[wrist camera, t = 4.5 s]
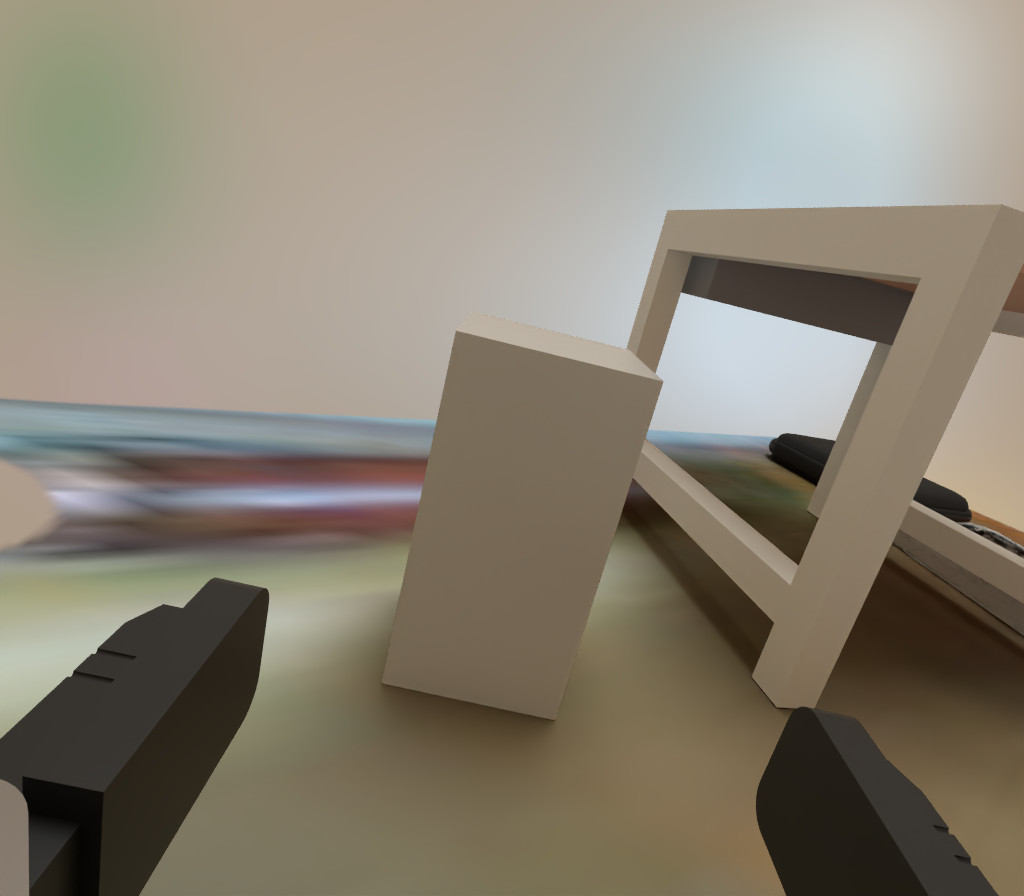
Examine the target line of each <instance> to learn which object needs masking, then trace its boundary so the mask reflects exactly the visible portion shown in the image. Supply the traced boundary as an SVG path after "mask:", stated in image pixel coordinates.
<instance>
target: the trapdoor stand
mask: <svg viewBox="0 0 1024 896" xmlns="http://www.w3.org/2000/svg"><path fill="white" fill-rule="evenodd" d="M692 256H700V257H708V258H716V259H724V260H732V261H739V262H747V263H755V264H763V265H771V266H779V267H787V268H795V269H803V270H810V271H818V272H826V273H834V274H842V275H850V276H858V277H866V278H874V279H881V280H889V281H897V282H905V283H913V284H918V286H917V289H916V291H915V293H914V296H913V298H912V300H911V303H910V305H909V307H908V310H907V312H906V314H905V317H904V319H903V322H902V324H901V326H900V329H899V331H898V333H897V336H896V338H895V340H894V343H893V345H892V346H891V345H887V344H883V343H879V342H877V343H876V345H875V348H874V350H873V353H872V355H871V358H870V360H869V362H868V365H867V367H866V369H865V372H864V374H863V377H862V379H861V381H860V384H859V386H858V389H857V391H856V393H855V396H854V398H853V401H852V403H851V406H850V408H849V410H848V413H847V415H846V417H845V420H844V422H843V425H842V427H841V430H840V432H839V434H838V437H837V439H836V441H835V444H834V446H833V449H832V451H831V453H830V456H829V458H828V461H827V463H826V465H825V468H824V470H823V473H822V475H821V477H820V480H819V482H818V485H817V487H816V489H815V492H814V494H813V497H812V499H811V501H810V504H809V506H808V509H807V511H809V512H810V513H811V514H813V515H814V516H816V517H817V518H819V519H818V522H817V524H816V526H815V529H814V531H813V533H812V536H811V538H810V540H809V543H808V545H807V547H806V550H805V552H804V555H803V557H802V559H801V562H800V564H799V566H798V565H797V564H796V563H794V562H793V561H792V560H791V559H790V558H788V557H787V556H786V555H785V554H784V553H782V552H781V551H780V550H779V549H778V548H776V547H775V546H774V545H773V544H772V543H770V542H769V541H768V540H767V539H766V538H764V537H763V536H762V535H761V534H760V533H758V532H757V531H756V530H755V529H754V528H752V527H751V526H750V525H749V524H748V523H746V522H745V521H744V520H743V519H742V518H740V517H739V516H738V515H737V514H736V513H734V512H733V511H732V510H731V509H730V508H728V507H727V506H726V505H725V504H724V503H722V502H721V501H720V500H719V499H718V498H716V497H715V496H714V495H713V494H712V493H710V492H709V491H708V490H707V489H706V488H704V487H703V486H702V485H701V484H700V483H698V482H697V481H696V480H695V479H694V478H692V477H691V476H690V475H689V474H688V473H686V472H685V471H684V470H683V469H682V468H680V467H679V466H678V465H677V464H676V463H674V462H673V461H672V460H671V459H670V458H668V457H667V456H666V455H665V454H664V453H662V452H661V451H660V450H659V449H658V448H656V447H655V446H654V445H653V444H652V443H650V442H649V441H648V440H647V439H646V438H645V441H644V444H643V447H642V450H641V453H640V456H639V460H638V463H637V466H636V469H635V472H634V475H633V478H634V479H635V480H636V481H637V482H638V483H639V484H640V485H641V486H642V487H643V488H644V490H645V491H646V492H647V493H648V494H649V495H650V496H651V497H652V498H653V499H654V500H655V501H656V502H657V503H658V504H659V505H660V506H661V507H662V508H663V509H664V510H665V511H666V512H667V513H668V514H669V515H670V516H671V517H672V518H673V519H674V520H675V521H676V522H677V523H678V524H679V525H680V526H681V528H682V529H683V530H684V531H685V532H686V533H687V534H688V535H689V536H690V537H691V538H692V539H693V540H694V541H695V542H696V543H697V544H698V545H699V546H700V547H701V548H702V549H703V550H704V551H705V552H706V553H707V554H708V555H709V556H710V557H711V558H712V559H713V560H714V561H715V562H716V563H717V564H718V565H719V567H720V568H721V569H722V570H723V571H724V572H725V573H726V574H727V575H728V576H729V577H730V578H731V579H732V580H733V581H734V582H735V583H736V584H737V585H738V586H739V587H740V588H741V589H742V590H743V591H744V592H745V593H746V594H747V595H748V596H749V597H750V598H751V599H752V600H753V601H754V602H755V603H756V605H757V606H758V607H759V608H760V609H761V610H762V611H763V612H764V613H765V614H766V615H767V616H768V617H769V618H770V619H771V620H772V621H773V622H774V625H773V627H772V630H771V632H770V635H769V637H768V639H767V642H766V644H765V646H764V649H763V651H762V653H761V656H760V658H759V660H758V663H757V665H756V667H755V670H754V672H753V675H752V678H753V679H754V680H755V681H756V683H757V684H758V685H759V686H760V688H761V689H762V690H763V691H764V692H765V694H766V695H767V696H768V697H769V699H770V700H771V701H772V702H773V704H774V705H775V706H776V707H779V708H799V707H802V706H804V707H809V708H813V709H814V708H815V706H816V704H817V702H818V700H819V697H820V695H821V693H822V691H823V689H824V687H825V685H826V683H827V680H828V678H829V676H830V674H831V672H832V670H833V668H834V666H835V663H836V661H837V659H838V657H839V655H840V653H841V651H842V649H843V646H844V644H845V642H846V640H847V638H848V636H849V634H850V631H851V629H852V627H853V625H854V623H855V621H856V619H857V617H858V614H859V612H860V610H861V608H862V606H863V604H864V602H865V600H866V597H867V595H868V593H869V591H870V589H871V587H872V585H873V583H874V580H875V578H876V576H877V574H878V572H879V570H880V568H881V566H882V563H883V561H884V559H885V557H886V555H887V553H888V551H889V548H890V546H891V544H892V542H893V540H894V538H895V536H896V534H897V531H898V529H900V530H902V531H903V532H905V533H907V534H908V535H910V536H912V537H913V538H915V539H917V540H918V541H920V542H922V543H923V544H925V545H927V546H928V547H930V548H932V549H933V550H935V551H937V552H938V553H940V554H942V555H943V556H945V557H947V558H948V559H950V560H952V561H953V562H955V563H957V564H958V565H960V566H962V567H963V568H965V569H967V570H968V571H970V572H972V573H973V574H975V575H977V576H978V577H980V578H982V579H983V580H985V581H987V582H988V583H990V584H992V585H993V586H995V587H997V588H998V589H1000V590H1002V591H1003V592H1005V593H1007V594H1008V595H1010V596H1012V597H1013V598H1015V599H1017V600H1018V601H1020V602H1022V603H1023V604H1024V559H1023V558H1021V557H1020V556H1018V555H1016V554H1014V553H1012V552H1010V551H1008V550H1006V549H1004V548H1003V547H1001V546H999V545H997V544H995V543H993V542H991V541H989V540H988V539H986V538H984V537H982V536H980V535H978V534H976V533H974V532H972V531H971V530H969V529H967V528H965V527H963V526H961V525H959V524H957V523H956V522H954V521H952V520H950V519H948V518H946V517H944V516H942V515H940V514H939V513H937V512H935V511H933V510H931V509H929V508H927V507H925V506H924V505H922V504H920V503H918V502H916V501H914V500H913V497H914V495H915V493H916V491H917V489H918V487H919V485H920V483H921V480H922V478H923V476H924V474H925V472H926V470H927V468H928V465H929V463H930V461H931V459H932V457H933V455H934V452H935V450H936V448H937V446H938V444H939V442H940V440H941V438H942V436H943V434H944V431H945V429H946V427H947V425H948V423H949V421H950V419H951V417H952V414H953V412H954V410H955V408H956V406H957V403H958V402H959V400H960V397H961V395H962V393H963V391H964V389H965V387H966V384H967V382H968V380H969V378H970V376H971V374H972V372H973V370H974V368H975V365H976V363H977V361H978V359H979V357H980V355H981V353H982V351H983V348H984V346H985V344H986V342H987V340H988V337H989V336H990V333H991V332H996V333H1002V334H1007V335H1013V336H1017V337H1023V338H1024V313H1017V312H1011V311H1004V310H1002V308H1003V306H1004V304H1005V302H1006V299H1007V297H1008V295H1009V293H1010V291H1011V289H1012V287H1013V285H1014V282H1015V280H1016V278H1017V276H1018V274H1019V272H1020V270H1021V268H1022V265H1023V263H1024V212H1021V211H1019V210H1015V209H1013V208H1010V207H1007V206H1004V205H953V206H952V205H948V206H894V207H893V206H891V207H834V208H782V209H781V208H780V209H779V208H778V209H728V210H727V209H725V210H724V209H723V210H670V211H669V210H668V211H667V214H666V217H665V221H664V224H663V227H662V231H661V234H660V238H659V241H658V244H657V248H656V251H655V254H654V258H653V261H652V264H651V268H650V272H649V275H648V278H647V281H646V285H645V288H644V291H643V295H642V298H641V302H640V305H639V308H638V312H637V315H636V318H635V322H634V325H633V329H632V332H631V336H630V339H629V342H628V345H627V350H630V351H631V352H632V353H633V354H634V355H635V356H636V357H638V358H639V359H640V360H641V361H642V362H643V363H644V364H645V365H646V366H647V367H648V368H649V369H651V370H652V371H653V372H654V373H656V369H657V367H658V363H659V360H660V357H661V354H662V350H663V347H664V344H665V341H666V338H667V335H668V331H669V328H670V325H671V322H672V319H673V316H674V312H675V309H676V306H677V303H678V299H679V296H680V293H681V290H682V287H683V284H684V281H685V277H686V274H687V271H688V268H689V265H690V261H691V258H692Z"/></svg>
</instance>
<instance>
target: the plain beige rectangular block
mask: <svg viewBox="0 0 1024 896" xmlns="http://www.w3.org/2000/svg"><path fill="white" fill-rule="evenodd" d="M662 384H663V381H662V380H661V379H660V378H659V377H658V376H657V375H656V374H655V373H654V372H653V371H652V370H651V369H649V368H648V367H647V366H646V365H645V364H644V363H643V362H642V361H641V360H640V359H639V358H638V357H636V356H635V355H634V354H633V353H632V352H631V351H630V350H627V349H623V348H619V347H615V346H611V345H606V344H603V343H599V342H595V341H591V340H587V339H583V338H578V337H574V336H570V335H566V334H562V333H558V332H554V331H550V330H546V329H542V328H538V327H534V326H530V325H526V324H522V323H518V322H513V321H510V320H505V319H502V318H497V317H493V316H489V315H485V314H481V313H477V312H472V314H471V315H470V316H469V317H468V318H467V319H466V320H465V321H464V322H463V323H462V325H461V326H460V327H459V328H458V329H457V330H456V333H455V338H454V343H453V347H452V352H451V356H450V361H449V366H448V371H447V376H446V380H445V385H444V390H443V394H442V399H441V404H440V408H439V413H438V418H437V423H436V427H435V432H434V437H433V442H432V446H431V451H430V456H429V460H428V465H427V470H426V475H425V479H424V484H423V489H422V493H421V498H420V503H419V508H418V512H417V517H416V522H415V527H414V531H413V536H412V541H411V545H410V550H409V555H408V560H407V564H406V569H405V574H404V579H403V583H402V588H401V593H400V597H399V602H398V607H397V612H396V616H395V621H394V626H393V631H392V635H391V640H390V645H389V649H388V654H387V659H386V664H385V668H384V673H383V678H382V684H387V685H392V686H396V687H401V688H406V689H410V690H415V691H420V692H424V693H429V694H434V695H438V696H443V697H448V698H452V699H457V700H462V701H466V702H471V703H476V704H480V705H485V706H490V707H494V708H499V709H504V710H508V711H513V712H518V713H522V714H527V715H532V716H536V717H541V718H546V719H550V720H556V717H557V713H558V710H559V707H560V704H561V701H562V698H563V695H564V691H565V688H566V685H567V682H568V679H569V676H570V673H571V670H572V666H573V663H574V660H575V657H576V654H577V651H578V648H579V644H580V641H581V638H582V635H583V632H584V629H585V626H586V623H587V619H588V616H589V613H590V610H591V607H592V604H593V601H594V597H595V594H596V591H597V588H598V585H599V582H600V579H601V576H602V572H603V569H604V566H605V563H606V560H607V557H608V554H609V550H610V547H611V544H612V541H613V538H614V535H615V532H616V528H617V525H618V522H619V519H620V516H621V513H622V510H623V507H624V503H625V500H626V497H627V494H628V491H629V488H630V485H631V481H632V478H633V475H634V472H635V469H636V466H637V463H638V460H639V456H640V453H641V450H642V447H643V444H644V441H645V438H646V434H647V431H648V428H649V425H650V422H651V419H652V416H653V413H654V409H655V406H656V403H657V400H658V396H659V394H660V390H661V387H662Z"/></svg>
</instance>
